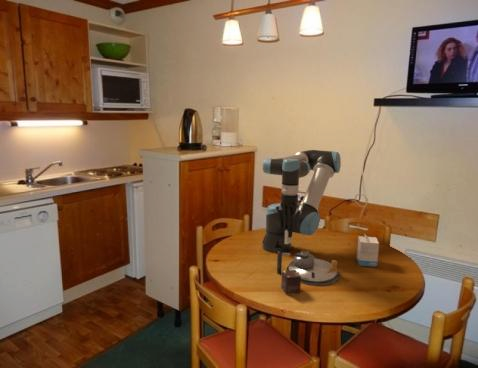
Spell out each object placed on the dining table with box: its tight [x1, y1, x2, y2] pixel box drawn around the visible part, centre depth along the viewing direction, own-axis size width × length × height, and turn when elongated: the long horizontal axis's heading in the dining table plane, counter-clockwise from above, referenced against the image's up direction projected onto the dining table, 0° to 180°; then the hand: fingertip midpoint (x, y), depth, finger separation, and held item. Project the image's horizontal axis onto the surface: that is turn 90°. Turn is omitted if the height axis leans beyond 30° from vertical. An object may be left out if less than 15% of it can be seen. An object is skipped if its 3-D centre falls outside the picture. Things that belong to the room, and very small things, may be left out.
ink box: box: [356, 233, 380, 268], centre depth 164 cm, size 9×8×13 cm
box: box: [280, 270, 302, 296], centre depth 138 cm, size 6×6×7 cm
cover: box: [293, 250, 316, 269], centre depth 155 cm, size 9×9×6 cm
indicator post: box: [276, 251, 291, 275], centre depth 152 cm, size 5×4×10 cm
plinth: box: [285, 265, 340, 287], centre depth 154 cm, size 23×23×1 cm
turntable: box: [288, 258, 338, 283], centre depth 153 cm, size 21×21×6 cm
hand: (287, 243), depth 160 cm, fingers closed
